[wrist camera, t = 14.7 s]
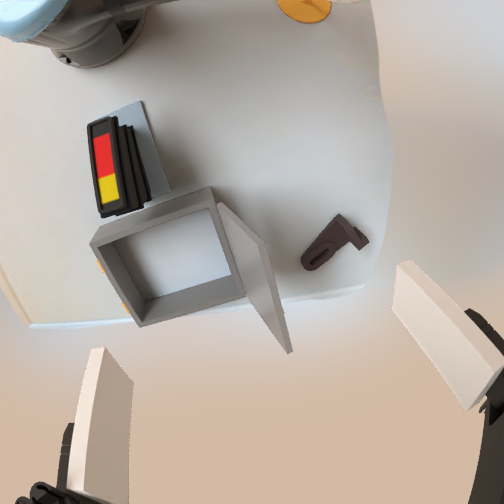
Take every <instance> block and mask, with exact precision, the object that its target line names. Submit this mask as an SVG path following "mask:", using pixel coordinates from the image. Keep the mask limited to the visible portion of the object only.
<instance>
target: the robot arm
mask: <svg viewBox="0 0 504 504" xmlns="http://www.w3.org/2000/svg"><path fill="white" fill-rule="evenodd" d="M172 1H177V0H0V36H3V37H6V38H8V39H10V40H12V41H13V42H24V43H30V44H35V45H40V46H44V47H48V48H50V49H51V50H52V52H53V54H54V55H55V56H56V57H57V58H58V59H59V60H60V61H61V62H63V63H65V64H67V65H70V66H74V67H79V68H92V67H97V66H100V65H103V64H106V63H108V62H110V61H112V60H114V59H115V58H117V57H118V56H120V55H121V54H122V53H124V52H125V51H126V50H127V49H128V48H129V47H130V46H131V45H132V44H133V42H134V41H135V40H136V38H137V37H138V35H139V34H140V32H141V30H142V27H143V25H144V21H145V15H146V9H145V8H146V7H150V6H154V5H158V4H162V3H167V2H172ZM392 311H393V312H394V313H395V315H396V316H397V317H398V318H399V319H400V321H401V322H402V323H403V325H404V326H405V327H406V329H407V330H408V331H409V332H410V334H411V335H412V336H413V338H414V339H415V340H416V341H417V343H418V344H419V346H420V347H421V348H422V350H423V351H424V352H425V353H426V355H427V356H428V358H429V359H430V360H431V362H432V363H433V365H434V366H435V367H436V369H437V370H438V372H439V373H440V374H441V376H442V377H443V379H444V380H445V381H446V383H447V384H448V386H449V387H450V389H451V390H452V391H453V393H454V395H455V396H456V397H457V399H458V400H459V402H460V403H461V405H462V406H463V408H464V409H465V411H466V412H467V411H468V410H470V409H471V408H472V407H473V406H475V405H476V404H478V403H479V402H480V401H481V399H482V398H483V397H484V395H486V396H487V400H486V401H485V402H484V404H483V405H482V406H481V407H480V410H479V413H481V412H482V411H483V410H484V409H485V407H486V410H485V412H484V413H485V420H484V429H483V436H482V444H481V450H480V456H479V461H478V466H477V471H476V475H475V480H474V484H473V488H472V491H471V495H470V499H469V502H468V504H504V340H503V338H502V337H501V336H500V335H499V334H498V333H497V332H496V331H495V330H493V328H492V326H491V325H490V324H488V323H487V321H486V320H485V319H484V318H483V317H482V316H481V315H480V314H479V313H477V312H475V311H473V310H472V309H470V308H469V309H468V310H466V311H463V310H462V309H461V308H460V307H459V306H458V305H457V304H456V303H455V302H454V301H453V300H452V299H451V298H450V297H449V296H448V295H447V294H446V293H445V292H444V291H443V290H442V289H441V288H440V287H439V286H438V285H437V284H436V283H435V282H434V281H433V280H432V279H431V278H429V277H428V276H427V275H426V274H425V273H424V272H423V271H422V270H421V269H420V268H419V267H418V266H417V265H416V264H414V263H413V262H412V261H411V260H407V261H404V262H402V263H399V264H397V267H396V278H395V288H394V295H393V303H392ZM132 395H133V382H132V380H131V379H130V378H129V377H128V375H127V374H126V373H125V372H124V371H123V369H122V368H121V367H120V366H119V364H118V363H117V362H116V361H115V359H114V358H113V357H112V355H111V354H110V353H109V352H108V350H107V349H106V347H100V348H95V349H91V352H90V356H89V360H88V364H87V368H86V372H85V376H84V380H83V384H82V389H81V393H80V398H79V403H78V408H77V413H76V418H75V423H69V424H68V426H67V428H66V430H65V432H64V435H63V441H62V445H63V446H62V447H61V455H60V462H59V469H58V478H57V486H56V488H54V487H52V486H50V485H48V484H47V483H44V482H37V483H35V484H34V485H33V486H32V488H31V491H30V499H28V498H26V497H19V498H18V499H17V500H16V502H15V504H129V439H130V421H131V406H132Z"/></svg>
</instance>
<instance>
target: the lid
mask: <svg viewBox="0 0 504 504" xmlns="http://www.w3.org/2000/svg"><path fill="white" fill-rule="evenodd" d="M216 205H217V208H218V211H219V214H220V218H221V221H222V224H223V227H224V230H225V233H226V236H227V239H228V242H229V245H230V248H231V250H232V253H233V256H234V259H235V262H236V265H237V268H238V271H239V274H240V277H241V280H242V283H243V286H244V289H245V292H246V294H247V297H248V299H249V300H250V302H251V303H252V305H253V306H254V308H255V309H256V310H257V312H258V313H259V314H260V316H261V318H262V319H263V320H264V322H265V323H266V324H267V326H268V327H269V329H270V330H271V332H272V333H273V335H274V336H275V337H276V339H277V340H278V342H279V343H280V344H281V346H282V347H283V348H284V350H285V351H286V353H287V354H289V353H291V352H293V350H292V346H291V342H290V338H289V334H288V330H287V325H286V322H285V317H284V313H283V309H282V306H281V302H280V298H279V294H278V290H277V286H276V282H275V278H274V274H273V270H272V266H271V262H270V259H269V255H268V251H267V247H266V243H265V241H263V240H262V239H261V238H260V237H259V236H258V235H257V234H256V233H255V232H254V231H253V230H252V229H250V228H249V227H248V226H247V225H246V224H245V223H244V222H243V221H242V220H241V219H240V218H238V217H237V216H236V215H235V214H234V213H233V212H232V211H231V210H230V209H229V208H228V207H226V206H225V205H224V204H223V203H222V202H220V203H218V204H216Z"/></svg>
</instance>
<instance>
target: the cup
mask: <svg viewBox="0 0 504 504" xmlns="http://www.w3.org/2000/svg"><path fill="white" fill-rule="evenodd" d="M330 1H331V2H336V3H353V2H357V1H360V0H277V2H278V5H279V6H280V8H281V9H282V10H283V12H284V13H285V14H287V15H288V16H290V17H291V18H292V19H294V20H297V21H300V22H304V23H315V22H318V21H320V20H323V19H324V18H325V17H326V16H327V15H328V14H329V12H330V8H331V2H330Z"/></svg>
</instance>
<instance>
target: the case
mask: <svg viewBox="0 0 504 504" xmlns="http://www.w3.org/2000/svg"><path fill="white" fill-rule="evenodd" d="M206 208H209V211H210V214H211V217H212V220H213V223H214V226H215V228H216V231H217V234H218V237H219V240H220V243H221V246H222V248H223V251H224V254H225V257H226V260H227V263H228V265H229V268H230V271H231V274H232V275H229V276H226V277H223V278H220V279H216V280H213V281H210V282H207V283H204V284H200V285H197V286H194V287H191V288H187V289H184V290H181V291H178V292H174V293H171V294H168V295H164V296H161V297H158V298H154V299H151V300H148V301H145V300H144V299H143V297H142V295H141V293H140V292H139V290H138V288H137V286H136V285H135V283H134V281H133V279H132V278H131V276H130V274H129V272H128V270H127V268H126V267H125V265H124V263H123V261H122V259H121V257H120V255H119V253H118V252H117V250H116V248H115V246H114V244H113V242H112V241H115V240H117V239H120V238H123V237H125V236H128V235H131V234H134V233H136V232H139V231H142V230H144V229H147V228H150V227H153V226H156V225H158V224H161V223H164V222H167V221H170V220H173V219H176V218H179V217H182V216H185V215H188V214H191V213H194V212H197V211H200V210H203V209H206ZM89 244H90V246H91V248H92V250H93V252H94V254H95V256H96V257H97V263H98V264H99V266H100V268H101V270H102V271H103V273H106V275H107V277H108V278H109V280H110V282H111V284H112V285H113V287H114V289H115V290H116V292H117V293H118V295H119V297H120V298H121V300H122V304H123V306H124V308H125V309H126V311H127V312H128V314H129V313H130V314H131V316H132V317H133V319H134V320H135V322H136V323H137V325H138V326H139V327H143V326H148V325H151V324H155V323H158V322H162V321H165V320H169V319H173V318H176V317H180V316H183V315H187V314H190V313H194V312H197V311H200V310H204V309H207V308H210V307H214V306H217V305H220V304H224V303H227V302H230V301H234V300H237V299H240V298H243V297H246V294H245V291H244V287H243V283H242V280H241V277H240V274H239V271H238V268H237V265H236V262H235V259H234V256H233V253H232V250H231V248H230V245H229V242H228V239H227V236H226V233H225V230H224V227H223V224H222V221H221V218H220V214H219V211H218V208H217V205H216V201H215V198H214V195H213V192H212V189H211V187H208V188H204V189H201V190H198V191H195V192H192V193H189V194H186V195H183V196H181V197H178V198H175V199H172V200H169V201H166V202H163V203H161V204H158V205H155V206H152V207H150V208H147V209H144V210H142V211H139V212H136V213H134V214H131V215H128V216H126V217H123V218H121V219H118V220H116V221H113V222H111V223H108V224H106V225H103V226H101V227H99V229H98V230H97V232H96V233H95V235H94V237H93V238H92V240H91V242H90V243H89ZM282 309H283V308H282ZM283 313H284V311H283Z"/></svg>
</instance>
